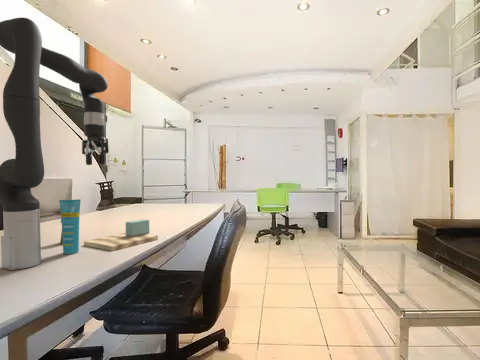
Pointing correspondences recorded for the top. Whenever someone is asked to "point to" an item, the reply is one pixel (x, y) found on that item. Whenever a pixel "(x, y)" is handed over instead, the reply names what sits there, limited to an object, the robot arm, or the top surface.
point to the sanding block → (137, 228)
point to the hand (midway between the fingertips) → (95, 164)
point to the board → (119, 241)
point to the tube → (70, 225)
